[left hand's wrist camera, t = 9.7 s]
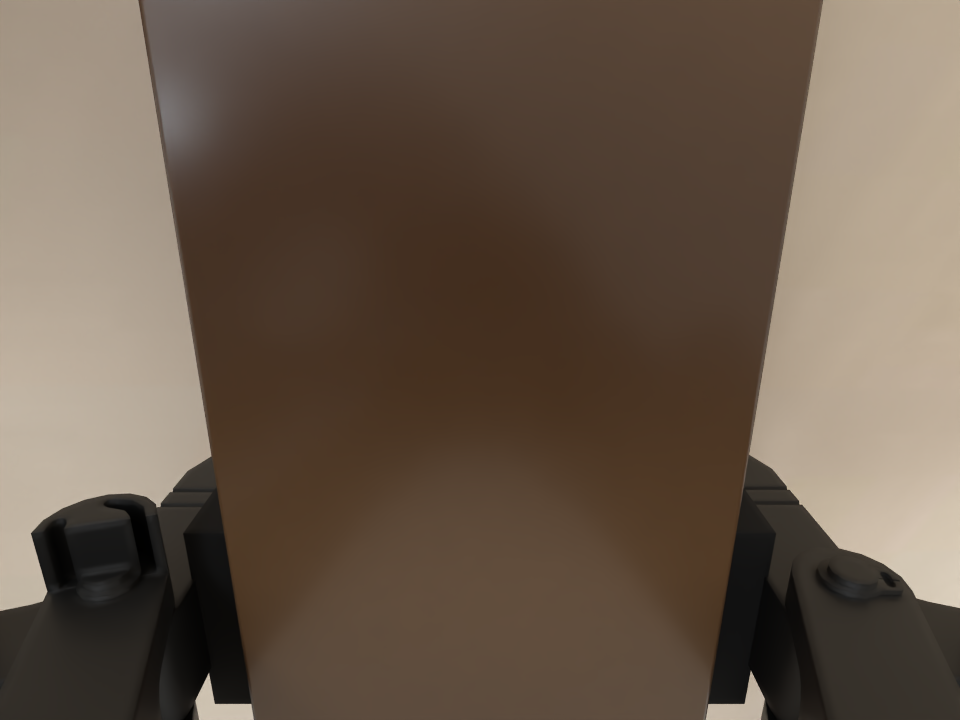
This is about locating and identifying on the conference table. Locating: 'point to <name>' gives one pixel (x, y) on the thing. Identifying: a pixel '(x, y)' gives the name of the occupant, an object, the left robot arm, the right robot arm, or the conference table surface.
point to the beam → (480, 335)
